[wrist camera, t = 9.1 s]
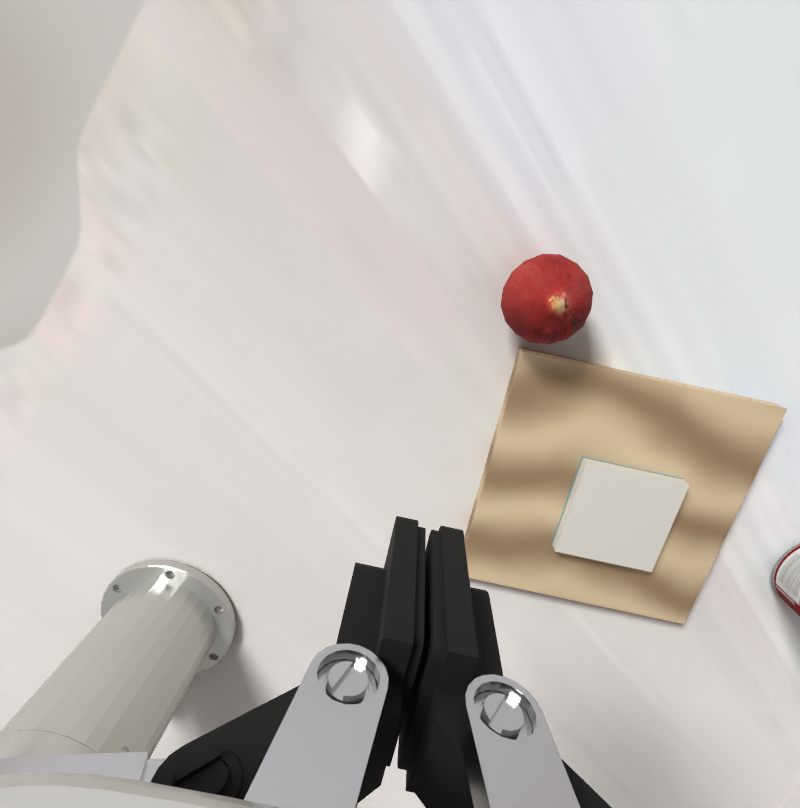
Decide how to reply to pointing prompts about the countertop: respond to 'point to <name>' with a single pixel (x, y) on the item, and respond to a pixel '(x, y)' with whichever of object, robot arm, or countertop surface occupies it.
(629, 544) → the tile
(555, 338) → the onion
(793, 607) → the soda can
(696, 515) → the board
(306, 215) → the countertop surface
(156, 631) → the robot arm
